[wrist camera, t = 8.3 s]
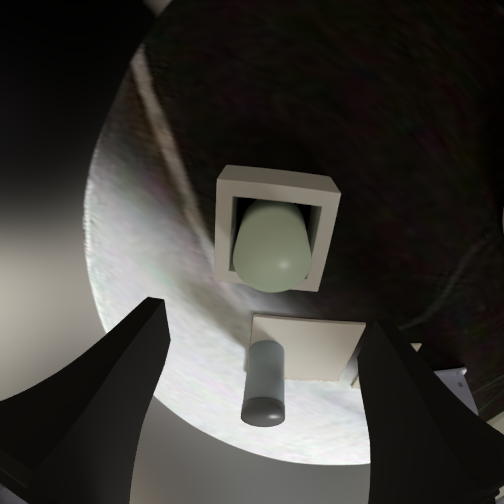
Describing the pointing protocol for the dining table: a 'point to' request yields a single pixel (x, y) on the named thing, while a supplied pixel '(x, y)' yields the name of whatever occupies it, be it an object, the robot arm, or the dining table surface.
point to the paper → (310, 344)
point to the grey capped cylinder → (264, 385)
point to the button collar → (278, 189)
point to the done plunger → (272, 246)
